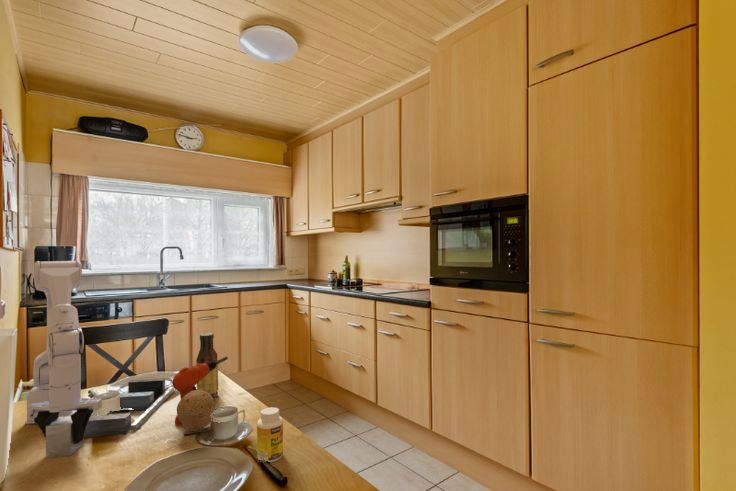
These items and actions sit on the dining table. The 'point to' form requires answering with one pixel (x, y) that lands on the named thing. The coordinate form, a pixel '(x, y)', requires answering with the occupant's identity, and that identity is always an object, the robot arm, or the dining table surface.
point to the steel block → (61, 438)
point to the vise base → (121, 420)
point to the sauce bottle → (204, 356)
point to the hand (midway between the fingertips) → (65, 442)
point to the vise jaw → (142, 393)
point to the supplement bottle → (270, 435)
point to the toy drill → (192, 379)
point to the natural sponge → (195, 410)
